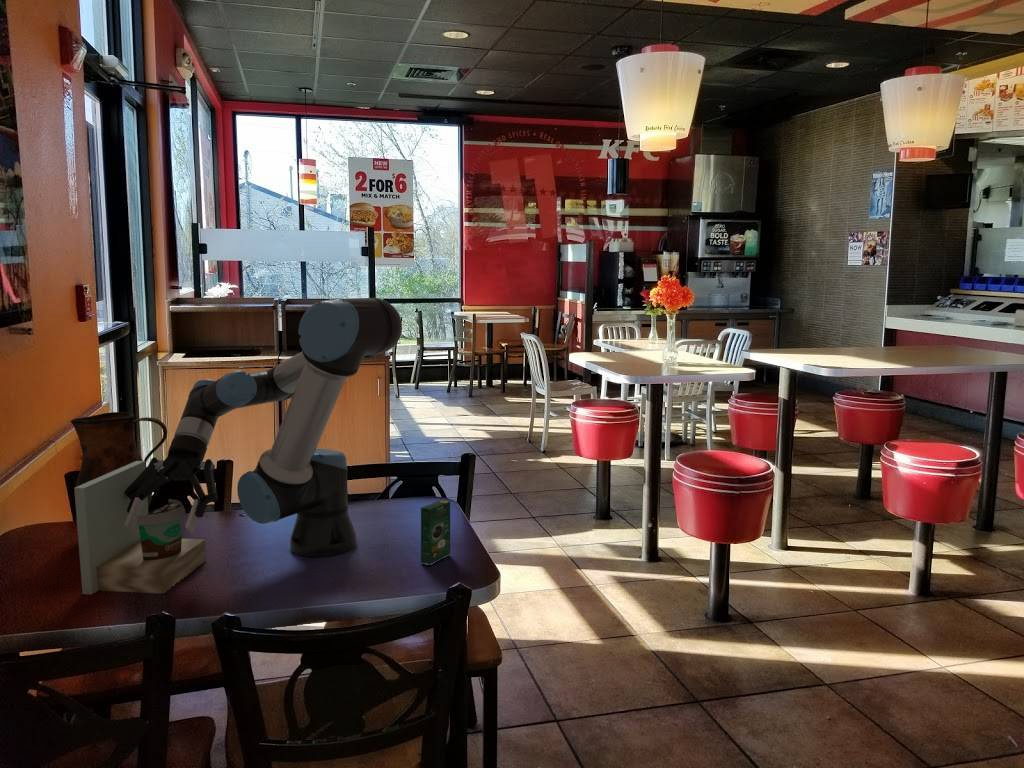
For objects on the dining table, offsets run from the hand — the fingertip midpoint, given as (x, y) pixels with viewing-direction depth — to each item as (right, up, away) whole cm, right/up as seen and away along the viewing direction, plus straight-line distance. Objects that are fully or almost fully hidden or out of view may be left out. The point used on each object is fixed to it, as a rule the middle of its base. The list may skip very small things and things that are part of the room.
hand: (158, 529), depth 166 cm
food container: (+1, -6, +3) cm, 7 cm away
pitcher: (-21, -7, +29) cm, 36 cm away
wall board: (-11, -10, +5) cm, 16 cm away
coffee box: (+56, -10, +14) cm, 59 cm away
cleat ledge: (-3, -10, +4) cm, 12 cm away
